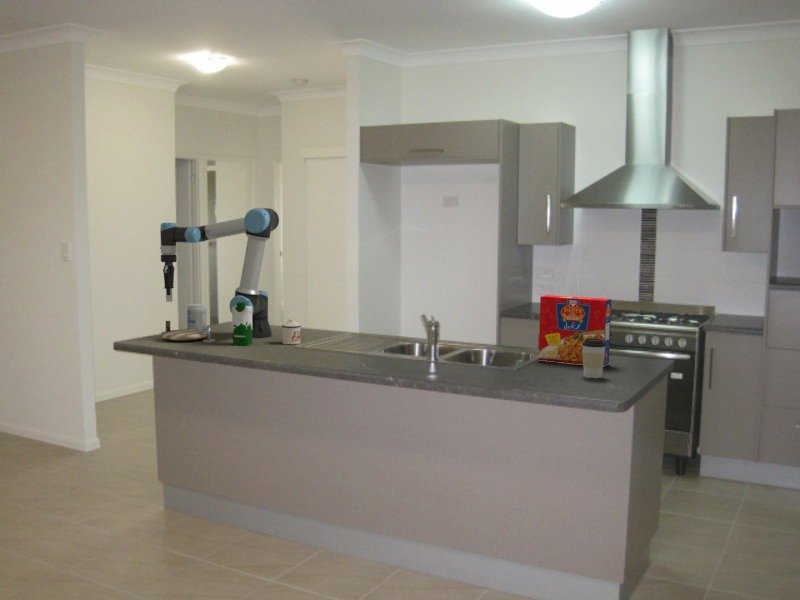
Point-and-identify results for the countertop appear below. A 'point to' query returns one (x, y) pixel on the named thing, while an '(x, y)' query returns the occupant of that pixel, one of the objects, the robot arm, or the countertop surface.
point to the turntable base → (184, 340)
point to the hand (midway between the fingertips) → (169, 301)
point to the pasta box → (572, 326)
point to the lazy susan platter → (182, 333)
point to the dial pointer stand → (208, 335)
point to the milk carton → (242, 324)
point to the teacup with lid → (291, 332)
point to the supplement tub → (196, 316)
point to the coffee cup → (593, 357)
